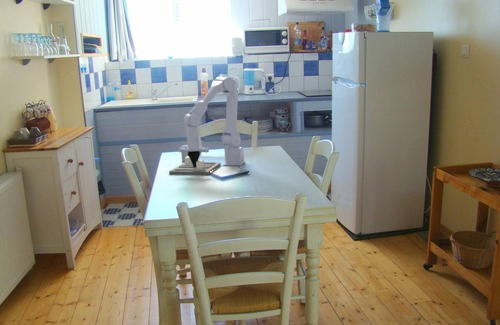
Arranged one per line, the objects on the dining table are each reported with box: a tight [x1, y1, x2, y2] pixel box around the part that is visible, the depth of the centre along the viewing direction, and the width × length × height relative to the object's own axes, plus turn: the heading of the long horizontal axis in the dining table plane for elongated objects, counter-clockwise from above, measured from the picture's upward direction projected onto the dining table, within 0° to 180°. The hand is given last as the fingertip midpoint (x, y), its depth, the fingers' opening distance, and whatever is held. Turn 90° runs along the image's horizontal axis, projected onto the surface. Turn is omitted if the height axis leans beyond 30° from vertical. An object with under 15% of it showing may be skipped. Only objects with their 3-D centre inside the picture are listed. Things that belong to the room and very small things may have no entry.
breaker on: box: [185, 156, 192, 164], centre depth 231 cm, size 2×4×4 cm, turn 164°
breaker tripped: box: [196, 159, 205, 169], centre depth 221 cm, size 2×4×4 cm, turn 165°
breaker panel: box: [168, 161, 222, 176], centre depth 226 cm, size 20×18×2 cm
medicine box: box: [180, 144, 188, 163], centre depth 244 cm, size 8×4×9 cm, turn 84°
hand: (195, 166), depth 222 cm, fingers closed
